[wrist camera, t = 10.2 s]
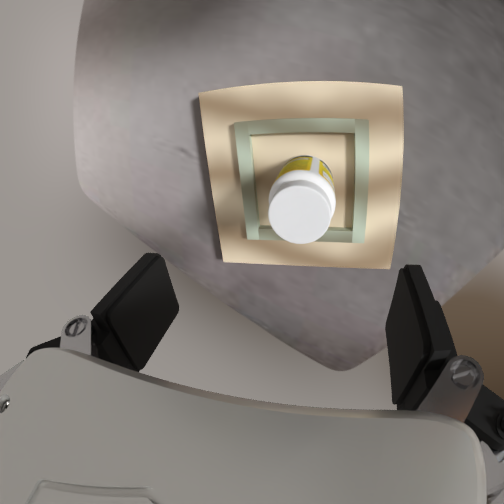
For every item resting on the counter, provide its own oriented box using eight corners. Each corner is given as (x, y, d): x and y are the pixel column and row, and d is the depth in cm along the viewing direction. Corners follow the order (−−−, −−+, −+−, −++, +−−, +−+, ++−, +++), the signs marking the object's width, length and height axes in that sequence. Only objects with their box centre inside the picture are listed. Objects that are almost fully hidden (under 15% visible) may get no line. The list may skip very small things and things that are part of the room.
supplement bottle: (272, 191, 25) (250, 231, 18) (292, 145, 23) (276, 166, 16) (319, 212, 25) (316, 260, 18) (342, 168, 22) (350, 200, 15)
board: (204, 93, 23) (194, 92, 21) (397, 87, 18) (404, 85, 17) (227, 255, 32) (221, 265, 30) (387, 261, 27) (391, 273, 25)
